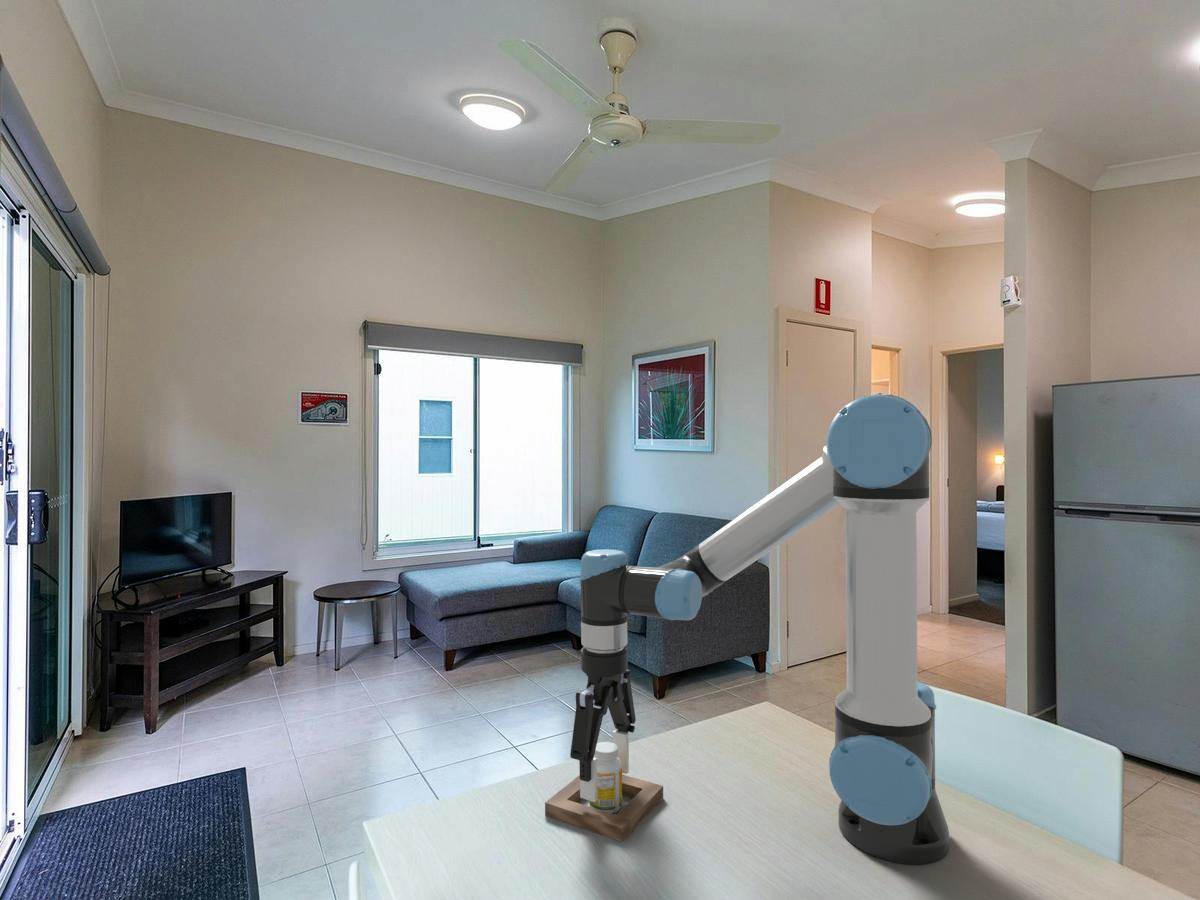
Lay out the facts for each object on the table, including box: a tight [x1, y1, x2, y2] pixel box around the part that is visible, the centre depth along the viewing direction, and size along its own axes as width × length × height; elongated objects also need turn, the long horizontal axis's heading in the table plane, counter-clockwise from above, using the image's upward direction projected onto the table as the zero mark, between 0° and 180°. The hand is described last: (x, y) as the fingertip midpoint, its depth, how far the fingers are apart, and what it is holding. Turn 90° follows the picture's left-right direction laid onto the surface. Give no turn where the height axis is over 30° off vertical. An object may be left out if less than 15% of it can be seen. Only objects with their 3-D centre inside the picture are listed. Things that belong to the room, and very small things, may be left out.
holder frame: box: [544, 773, 664, 842], centre depth 107 cm, size 14×14×2 cm
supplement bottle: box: [589, 741, 623, 814], centre depth 107 cm, size 5×5×10 cm
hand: (605, 784), depth 107 cm, fingers open, 9 cm apart
